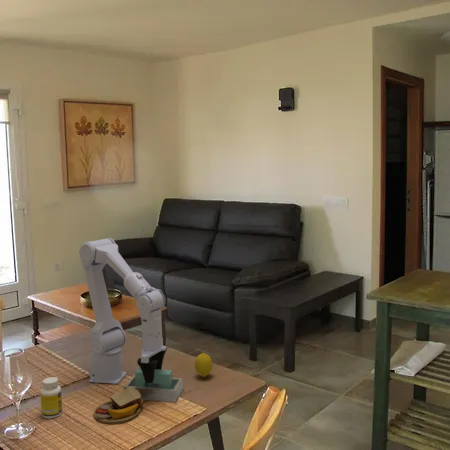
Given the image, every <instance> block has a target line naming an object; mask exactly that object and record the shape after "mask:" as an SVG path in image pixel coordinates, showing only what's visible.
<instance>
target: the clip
mask: <svg viewBox="0 0 450 450" xmlns="http://www.w3.org/2000/svg"><path fill="white" fill-rule="evenodd" d="M134 375H135V382H136V386H137V387H147V388H148V383H146V382H145V379H144V376H143V372H142V370H141V368H140V367H139V368H137V369H136V370H135V372H134ZM173 378H174V377H173V369H172V370H171V369H161V370H158V369H155V372H154V380H153V383H154V384H160V385H161V388H163V389H172V380H173Z"/></svg>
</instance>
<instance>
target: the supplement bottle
mask: <svg viewBox="0 0 450 450" xmlns="http://www.w3.org/2000/svg"><path fill="white" fill-rule="evenodd" d="M39 394H40V409H41V417H43V419H54V418H57V417H59V416H61V415H62V413H63V400H62V399H63V398H62V397H63V396H62V387H61V385H59V379H58V377H55V376H54V377H53V376H50V377H46V378H44V379H43V380H42V388H40V393H39Z"/></svg>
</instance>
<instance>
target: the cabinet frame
mask: <svg viewBox="0 0 450 450" xmlns="http://www.w3.org/2000/svg"><path fill="white" fill-rule="evenodd" d="M183 381H184V380H183V378H181V377H179V378H177V377H173V380H172V389H163V388H161V385H160V384H154V383H148V388H147V387H137V386H136V382H135V374H134V375H132V377H131V378H130V379H129V380H128V382H127V383H126V384H125V385H123V390H125V389H127V388H128V387H132V388H135V389H136V390H138V391H139V392H140V394H141V398H142V400H143V401H151V402H164V403H165V402H167V403H177V401H178V399H179V397H180V396H181V394H182V392H183V391H184V382H183Z"/></svg>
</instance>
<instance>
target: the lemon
mask: <svg viewBox="0 0 450 450" xmlns="http://www.w3.org/2000/svg"><path fill="white" fill-rule="evenodd" d="M194 369H195V372H196V373H197V374H198V375H199V376H200V377H202V378H206V376H208V375H210V374H211V372H212V370H213V361H212V358H211V356H210V355H209V354H208V353H205V352H202V353H200V354H198V355H197V356H196V358H195V360H194Z"/></svg>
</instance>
